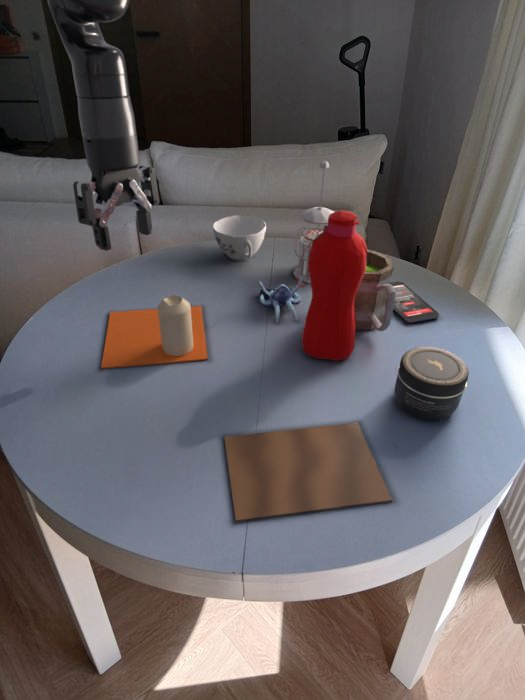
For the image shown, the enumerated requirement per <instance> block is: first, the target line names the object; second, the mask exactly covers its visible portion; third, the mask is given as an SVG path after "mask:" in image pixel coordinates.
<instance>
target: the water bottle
mask: <svg viewBox="0 0 525 700" xmlns="http://www.w3.org/2000/svg"><path fill="white" fill-rule="evenodd" d="M357 225H360V220H358V216H357V214H355V213H353V212H351V211H347V210H337V211H334V213H331V214H330V215H329V218H328V224H327V225H324V226H323V228H324V230H323V232H322V233H320V234H319V235H318V236H317V237H315V238H314V240H313V241H312V242H309V243H308V244H309V245H312V246H311V247H312V249H310V250H311V251H310V253H309V261H308V275H309V273H310V280H311V283H310V286H311V301H310V304H309V306H308V310H307V313H306V316H305V323H304V326H303V329H302V336H301V345H302V349H303V352H304V353H305V354H307V355H308V356H309V357H311V358H314V359H323V360H324V359H325V360H326V359H327V360H330V361H344V360H345V359H348V358H350V356H351V355H352V353H353V351H354V350H355V341H356V330H355V328H356V317H355V306H354V301H355V298H356V295H357V292H358V289H359V286H360V283H361V281H362V278H363V276H364V273H365V271H366V255H367V250H368V247H367V244H366V242H365V239H364V237H362V236H361V235H360V234H359V233H358V232H356V228H357ZM309 245H308V246H309ZM308 246H305V251H304V253H305V254H306V249H308ZM303 255H304V254H303ZM302 258H303V256H302ZM301 261H302V259H301ZM300 264H301V262H300ZM298 266H299V267H300V265H299V264H298ZM298 271H299V269H298ZM296 281H297V285H299V286H300V287H301V288H303V287H305V286H306V285H307V284H308V283H307V282H305V284H299V279H298V274H297V278H296ZM307 281H308V279H307Z"/></svg>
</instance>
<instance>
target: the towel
mask: <svg viewBox="0 0 525 700" xmlns="http://www.w3.org/2000/svg"><path fill="white" fill-rule="evenodd" d="M190 308H191V320H192V333H193V349H192V351H191V352H189V353H188V354H185V355H182V356H171V355H168V354H166V353H165V352H164V351H163V348H162V341H161V333H160V325H159V317H158V309H157V308H154V309H153V308H151V309H136V310H121V311H110V312H109V316H108V324H107V329H106V335H105V342H104V347H103V354H102V359H101V365H100V369H104V370H105V369H113V368H114V369H115V368H126V367H139V366H151V365H162V364H174V363H184V362H185V363H187V362H199V361H200V362H201V361H208V351H207V341H206V335H205V326H204V316H203V307H202V305H196V306H195V305H194V306H190Z"/></svg>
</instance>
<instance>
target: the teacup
mask: <svg viewBox="0 0 525 700" xmlns="http://www.w3.org/2000/svg"><path fill="white" fill-rule="evenodd" d="M212 230H213V234H214V238H215V241H216V244H217V246H219V248H220V250H221V251H222V252H223V253H224V254H225V255H227V257H228V258H230V259H232V260H234V261H245V260H249V259H250V258H252V257H253V256H254V255H255V254H256V253H257V252H258V251H259V250H260V248H261V247H262V244H263V242H264V240H265V236H266V233H267V232H266V231H267V223H266V222H265V221H264V220H263V219H262V218H259V217H255V216H251V215H244V214H242V215H241V214H239V215H231V216H226V217H222V218H221V219H219V220H217V221H215V222H214V223H213V224H212Z"/></svg>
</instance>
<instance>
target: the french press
mask: <svg viewBox="0 0 525 700" xmlns="http://www.w3.org/2000/svg"><path fill="white" fill-rule="evenodd" d="M319 168H320V169H323V170H322V181H321V190H320V203H319V206H315V207H309V208H308V209H306V210H304V211H302V212H301V214H300V218H301V219H302V220H303V221H304V222H306V223H309V224H312V225H317V226H318V227H315V226H314V227H308V228H306V225H303V226H302V227H300V229H299V230H298V232H297V234H296V237H295V241H294V253H295V256H296V257H297V258H298V266H297V267H296V268H294V270H293V275H294V277H295V278H296V279H297V274H298V281H300V279H301V278H302V277H303V279H302V282H304V283H306V282H307V284H311V280H310V273H309V275H308V261H309V253H310V251H311V250H310V249H312V247H311V246H312V244H311V245H309V244H310V243H311V242H312V241H313V240H314V238H315V237H317V236H318V235H319V234H320V233H322V232H323V230H324V227H320V225H328V218H329V215H330V214H331V213H334V212H335V211H334V210H332V209H329V208H327V207H324V206H322V199H323V189H324V178H325V169H329V168H330V164H329V162H328V161H327V160H323V161H321V162H320V163H319ZM300 232H301V237H300V239H299V251H297V241H298V237H299V235H300ZM304 241H306V242H307V243H306V242H304ZM312 243H313V242H312ZM308 245H309V246H308ZM307 246H308V247H307ZM306 247H307V249H306ZM305 249H306V251H305ZM304 251H305V253H304ZM297 252H299V253H297ZM303 254H304V255H303ZM302 256H303V258H302ZM301 259H302V261H301ZM300 262H301V264H300ZM299 265H300V267H299ZM298 269H299V271H298ZM307 279H308V281H307Z"/></svg>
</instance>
